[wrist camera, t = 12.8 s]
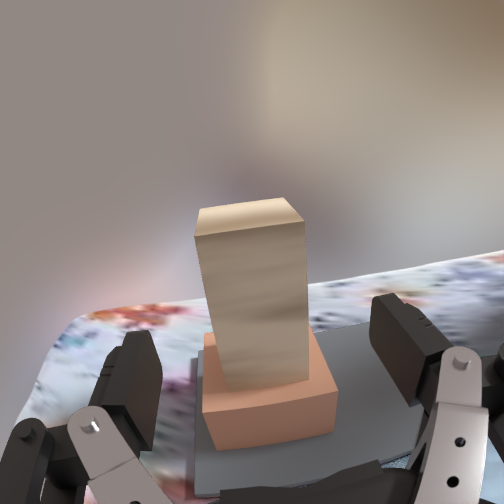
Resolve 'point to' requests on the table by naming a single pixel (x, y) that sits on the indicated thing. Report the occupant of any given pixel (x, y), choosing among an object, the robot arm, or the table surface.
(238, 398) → the base block
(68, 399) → the table surface
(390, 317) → the robot arm
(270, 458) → the build mat
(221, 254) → the pillar
